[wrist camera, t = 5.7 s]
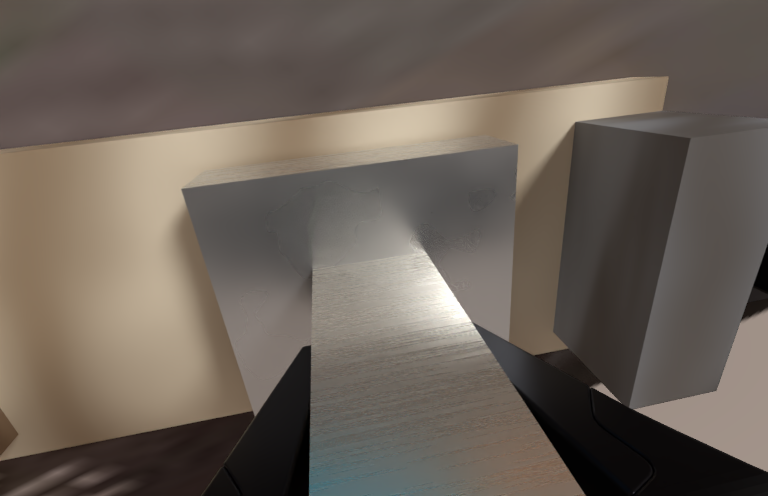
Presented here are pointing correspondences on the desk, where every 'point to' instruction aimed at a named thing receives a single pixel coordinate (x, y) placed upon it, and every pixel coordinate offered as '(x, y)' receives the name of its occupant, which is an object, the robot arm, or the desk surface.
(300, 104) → the desk surface
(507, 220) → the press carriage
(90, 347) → the base
